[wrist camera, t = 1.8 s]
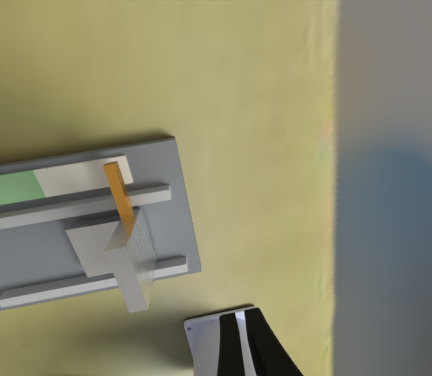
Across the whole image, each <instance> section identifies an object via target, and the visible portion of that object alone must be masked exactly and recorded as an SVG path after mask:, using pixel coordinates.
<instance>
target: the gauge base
mask: <svg viewBox="0 0 432 376" xmlns="http://www.w3.org/2000/svg"><path fill="white" fill-rule="evenodd" d="M115 161H118V164H119V167H120V170H121V174H122V177H123V180H124V183H125V186H126V189H127V192H128V196H129V199H130V202H131V205H132V208H133V209H134V208H140V207H141V208H142V211H143V215H144V218H145V221H146V225H147V228H148V231H149V235H150V238H151V241H152V245H153V248H154V251H155V255H156V258H157V261H156V267H155V273H154V279H153V281H155V280H160V279H166V278H171V277H176V276H181V275H186V274H191V273H196V272H201V263H200V258H199V253H198V248H197V243H196V238H195V233H194V228H193V223H192V218H191V213H190V209H189V204H188V199H187V194H186V189H185V184H184V179H183V174H182V169H181V164H180V159H179V154H178V149H177V144H176V139H175V137H171V138H165V139H158V140H152V141H145V142H139V143H132V144H126V145H120V146H113V147H107V148H100V149H94V150H87V151H81V152H74V153H68V154H61V155H55V156H49V157H42V158H36V159H29V160H23V161H16V162H10V163H3V164H0V311H1V310H7V309H12V308H17V307H22V306H27V305H32V304H37V303H42V302H48V301H53V300H58V299H63V298H68V297H73V296H78V295H84V294H89V293H94V292H99V291H104V290H109V289H114V288H119V286H118V284H117V281H116V279H115V277H114V274H113V273H109V274H103V275H98V276H93V277H87V275H86V273H85V271H84V269H83V267H82V265H81V262H80V260H79V258H78V256H77V254H76V252H75V250H74V248H73V246H72V244H71V241H70V239H69V237H68V235H67V233H66V231H65V230H66V229H67V228H68V227H69V226H70V224H71V223H74V222H80V221H86V220H92V219H97V218H103V217H109V216H115V215H119V212H118V209H117V206H116V203H115V200H114V197H113V195H112V192H111V189H110V186H109V183H108V180H107V177H106V174H105V172H104V169H103V165H104V164H106V163H108V162H115Z"/></svg>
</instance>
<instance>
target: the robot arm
mask: <svg viewBox="0 0 432 376" xmlns="http://www.w3.org/2000/svg"><path fill="white" fill-rule="evenodd" d="M184 329H185V333H186V336H187V340H188V343H189V347H190V350H191V354H192V357H193V365H194V376H303V374H302V373H301V372H300V370H299V369H298V368H297V366H296V365H295V364H294V362H293V361H292V360H291V358H290V357H289V355H288V354H287V352H286V351H285V350H284V348H283V347H282V345H281V344H280V342H279V341H278V339H277V338H276V336H275V335H274V333H273V331H272V330H271V328H270V326H269V325H268V323H267V321H266V320H265V318H264V316H263V314H262V312H261V310H260V309H259V308H256V307H254V306H251V307H246V308H242V309H237V310H232V311H227V312H222V313H217V314H213V315H208V316H203V317H198V318H193V319H189V320H186V321H185V322H184Z"/></svg>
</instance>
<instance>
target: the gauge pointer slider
mask: <svg viewBox="0 0 432 376" xmlns="http://www.w3.org/2000/svg"><path fill="white" fill-rule="evenodd" d="M103 169H104V172H105V174H106V177H107V180H108V183H109V186H110V189H111V192H112V195H113V197H114V200H115V203H116V206H117V209H118V212H119V215H115V216H109V217H103V218H97V219H92V220H86V221H80V222H74V223H71V224H70V226H69V227H68V228H67V229H66V230H65V231H66V233H67V235H68V237H69V239H70V241H71V244H72V246H73V248H74V250H75V252H76V254H77V256H78V258H79V260H80V262H81V265H82V267H83V269H84V271H85V273H86V275H87V277H93V276H98V275H103V274H109V273H113V274H114V277H115V279H116V281H117V284H118V286H119V289H120V291H121V294H122V296H123V298H124V301H125V303H126V306H127V308H128V311H129V313H133V312H138V311H143V310H147V309H148V308H149V302H150V296H151V291H152V285H153V279H154V273H155V267H156V261H157V258H156V255H155V251H154V248H153V245H152V241H151V238H150V235H149V231H148V228H147V225H146V221H145V218H144V215H143V211H142V208H141V207H140V208H134V209H133V208H132V205H131V202H130V199H129V196H128V192H127V189H126V186H125V183H124V180H123V177H122V174H121V170H120V167H119V164H118V161H115V162H108V163H106V164H104V165H103Z"/></svg>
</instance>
